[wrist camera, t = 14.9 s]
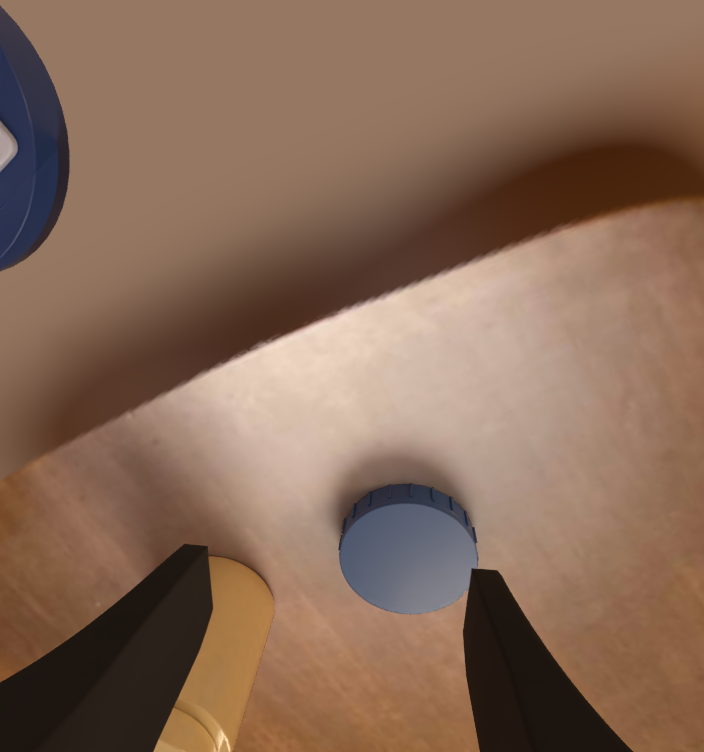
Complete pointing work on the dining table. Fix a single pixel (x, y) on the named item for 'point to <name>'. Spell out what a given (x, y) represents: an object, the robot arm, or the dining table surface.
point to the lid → (408, 549)
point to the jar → (222, 663)
